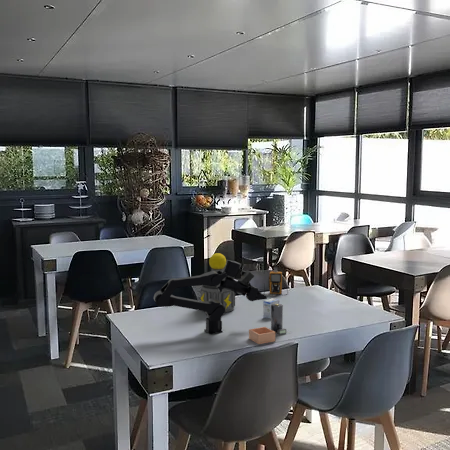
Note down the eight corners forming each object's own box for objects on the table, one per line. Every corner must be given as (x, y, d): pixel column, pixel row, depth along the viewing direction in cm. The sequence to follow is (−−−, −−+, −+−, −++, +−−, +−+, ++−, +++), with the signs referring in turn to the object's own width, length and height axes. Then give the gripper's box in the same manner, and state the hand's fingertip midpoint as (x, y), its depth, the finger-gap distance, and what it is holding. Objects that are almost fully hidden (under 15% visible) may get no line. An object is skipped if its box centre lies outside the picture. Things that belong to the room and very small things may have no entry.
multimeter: (262, 296, 290) (262, 262, 288) (263, 292, 300) (264, 260, 298) (287, 297, 287) (287, 263, 285) (288, 293, 297) (288, 260, 295)
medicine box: (271, 314, 252) (272, 297, 251) (279, 316, 249) (279, 299, 248) (263, 317, 246) (263, 300, 245) (270, 319, 243) (270, 302, 242)
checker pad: (273, 337, 216) (273, 331, 216) (261, 330, 225) (261, 325, 225) (292, 333, 221) (292, 328, 221) (279, 327, 230) (279, 322, 230)
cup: (258, 345, 206) (258, 334, 206) (248, 339, 213) (248, 329, 213) (275, 342, 210) (275, 331, 209) (265, 336, 217) (265, 326, 217)
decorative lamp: (242, 310, 261) (242, 253, 258) (212, 315, 250) (212, 257, 247) (222, 302, 276) (222, 249, 273) (193, 307, 265) (193, 252, 262)
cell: (274, 333, 220) (275, 306, 218) (268, 330, 224) (268, 303, 223) (284, 331, 222) (285, 304, 221) (278, 328, 227) (278, 302, 225)
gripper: (245, 272, 215) (276, 283, 219) (234, 265, 233) (263, 275, 237) (236, 296, 215) (267, 306, 219) (226, 287, 233) (255, 297, 237)
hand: (263, 295), depth 228 cm, fingers open, 9 cm apart
